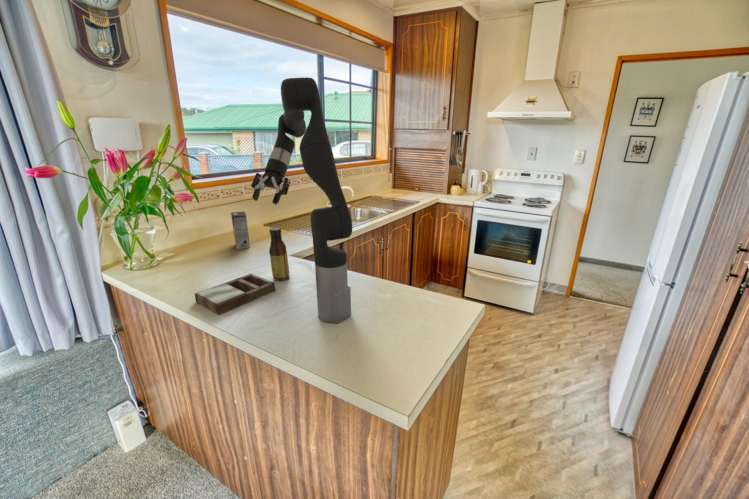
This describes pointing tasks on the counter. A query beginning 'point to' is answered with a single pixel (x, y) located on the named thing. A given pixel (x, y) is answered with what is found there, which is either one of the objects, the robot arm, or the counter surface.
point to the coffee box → (240, 230)
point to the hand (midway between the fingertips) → (264, 201)
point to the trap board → (234, 293)
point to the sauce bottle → (278, 256)
